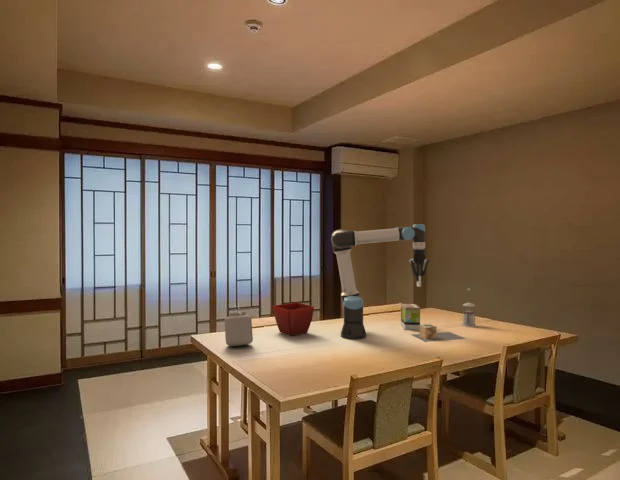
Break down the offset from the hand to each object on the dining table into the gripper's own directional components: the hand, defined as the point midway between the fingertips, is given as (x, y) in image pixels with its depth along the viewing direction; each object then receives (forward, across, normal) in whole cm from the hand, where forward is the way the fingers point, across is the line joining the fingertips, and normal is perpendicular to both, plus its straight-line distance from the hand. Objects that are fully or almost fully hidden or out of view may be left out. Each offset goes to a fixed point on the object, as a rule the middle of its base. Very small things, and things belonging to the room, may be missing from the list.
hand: (418, 286), depth 282 cm
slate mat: (+28, +4, -17) cm, 33 cm away
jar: (+29, -113, -7) cm, 117 cm away
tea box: (+29, 0, +11) cm, 31 cm away
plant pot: (+29, -77, +16) cm, 84 cm away
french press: (+29, +40, +7) cm, 50 cm away
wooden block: (+21, -3, -17) cm, 27 cm away
